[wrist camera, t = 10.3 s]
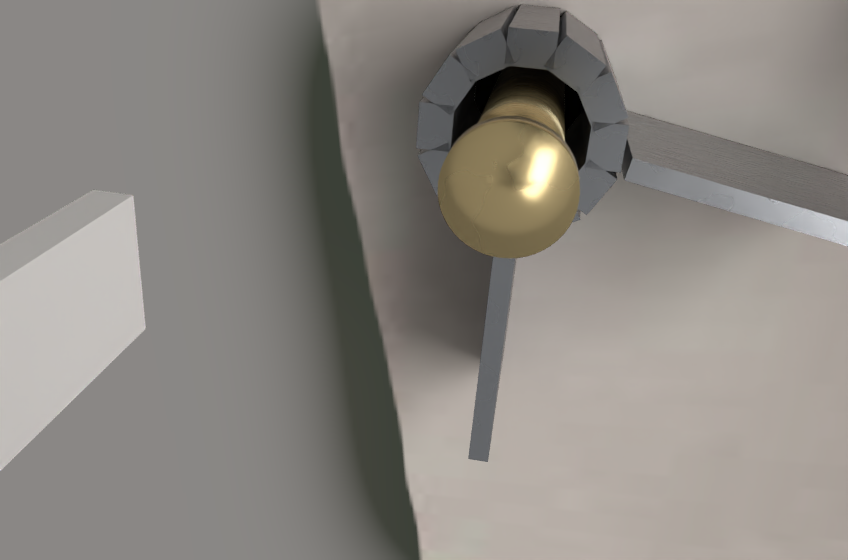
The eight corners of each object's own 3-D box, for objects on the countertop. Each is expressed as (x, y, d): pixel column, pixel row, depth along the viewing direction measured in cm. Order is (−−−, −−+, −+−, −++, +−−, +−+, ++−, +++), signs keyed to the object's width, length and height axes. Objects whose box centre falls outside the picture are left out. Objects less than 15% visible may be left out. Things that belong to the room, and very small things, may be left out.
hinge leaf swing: (611, 125, 34) (624, 180, 27) (618, 108, 33) (632, 158, 26) (839, 192, 33) (914, 265, 26) (848, 175, 33) (927, 244, 26)
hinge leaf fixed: (456, -2, 33) (425, 18, 26) (627, 14, 32) (645, 40, 25) (425, 352, 40) (394, 446, 33) (564, 373, 39) (564, 474, 32)
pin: (490, 42, 33) (443, 114, 21) (581, 51, 33) (591, 131, 20) (481, 131, 35) (432, 248, 22) (567, 141, 34) (568, 266, 22)
